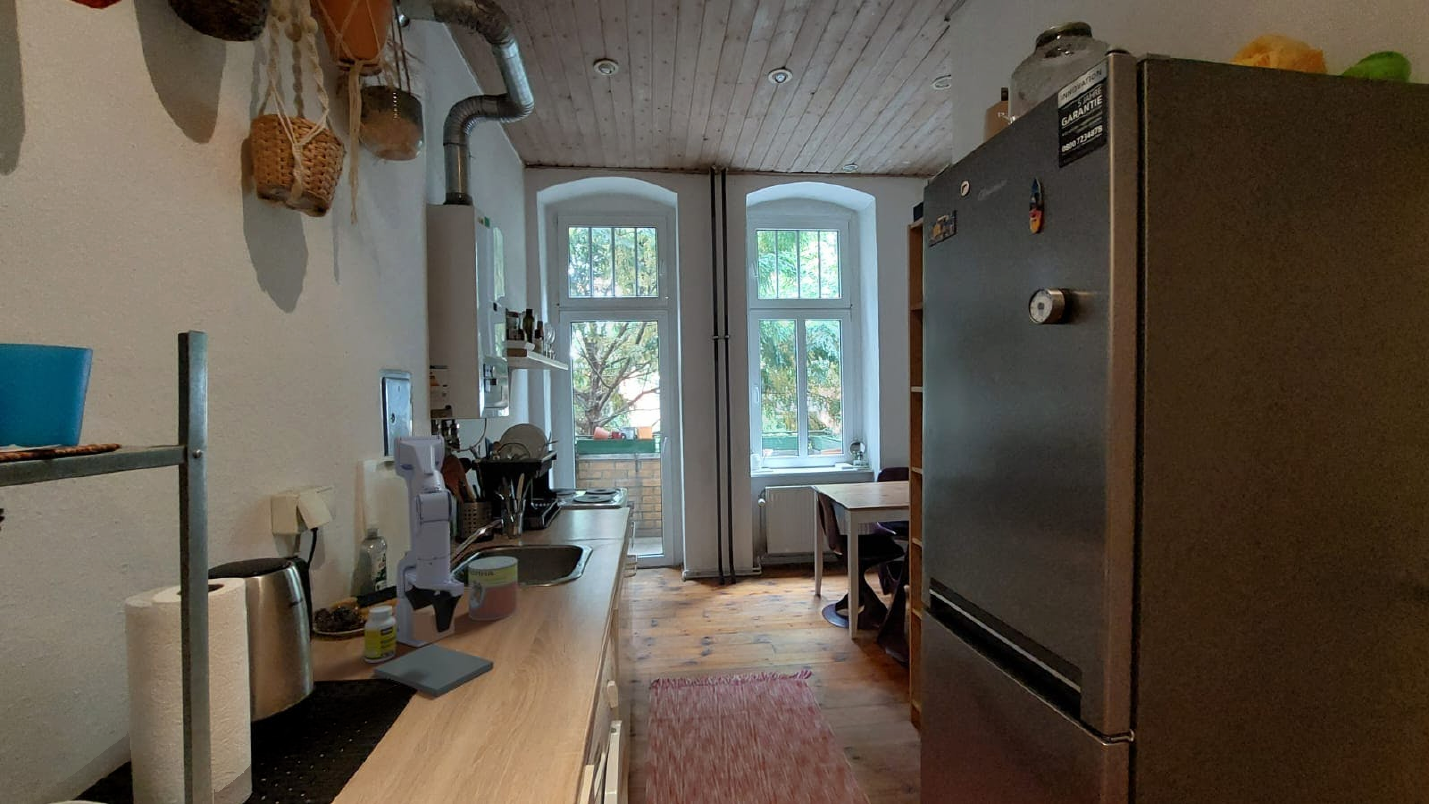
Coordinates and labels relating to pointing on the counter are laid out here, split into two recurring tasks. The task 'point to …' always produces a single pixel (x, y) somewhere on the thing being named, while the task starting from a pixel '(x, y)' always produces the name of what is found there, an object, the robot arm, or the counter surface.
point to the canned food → (493, 588)
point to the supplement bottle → (380, 635)
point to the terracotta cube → (428, 625)
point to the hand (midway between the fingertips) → (434, 628)
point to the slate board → (434, 669)
